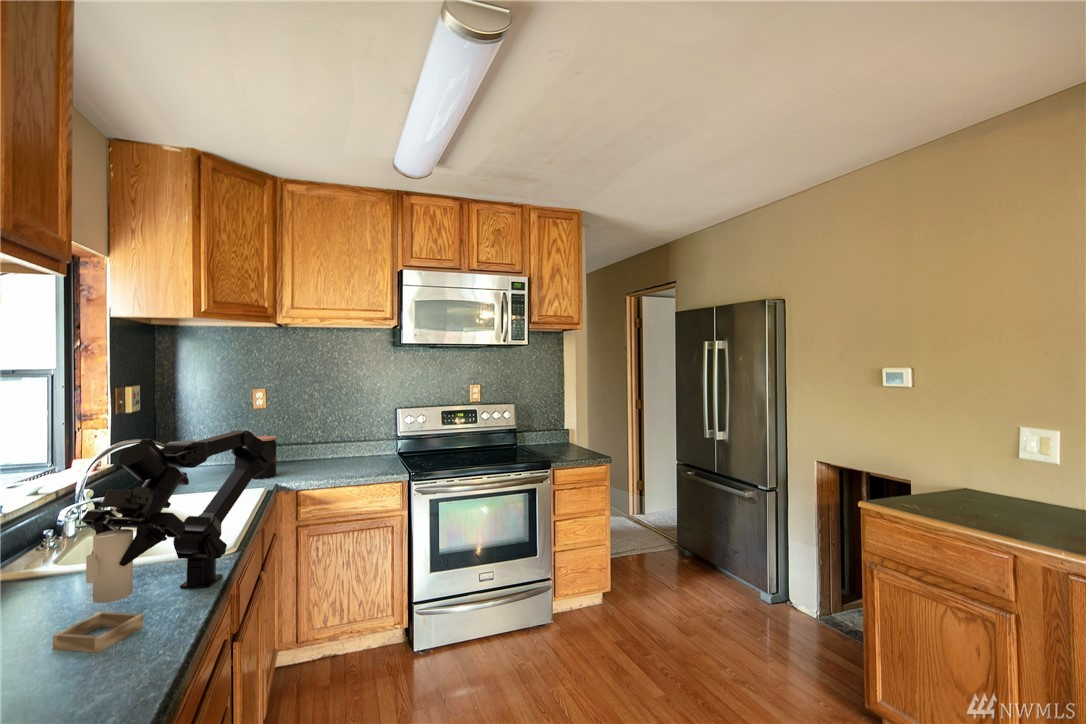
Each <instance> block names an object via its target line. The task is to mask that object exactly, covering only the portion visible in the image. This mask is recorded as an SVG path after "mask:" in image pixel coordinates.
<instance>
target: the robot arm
mask: <svg viewBox="0 0 1086 724" xmlns="http://www.w3.org/2000/svg"><path fill="white" fill-rule="evenodd" d="M257 437H258V436H255V434H254V433H253V432H251V431H250V430H242V429H241V430H238V429H237V430H235V429H233V430H231V431H229V432H227V433H222V434H218V435H214V436H211V437H208V438H207V437H206V438H204V439H201V440H200V439H199V440H181V441H180V440H178V441H169V442H167V443H166V444H164V446H163V447H162V448H159V447H158V446H157V444H156V443H155V441H154V440H153V439H150V438H143V439H141V440H140V441H139V442H138V443H135V444H132V445H131V446H129V447H128V448H127V449H125V450H123V451H122V452H121V453H120V455H119V457H118V463H119V464H120V465H121V466H122V467H123V468H124V469H125V470H126V471H128V472H129V473H130V474H131V475H132V476H134V477H135V479H137V480H139V481H144V483H143V484H142V486H136V487H134V489H132V490H130V489H128V490H127V489H109V488H108V489H107V490H106V492H105V495H104V497H103V499H102V500H103V501H102V503H101V505H100V506H101V507H110V508H115V512H116V513H118V514H121V516H117V515H116V514H115V513H113V512H112V511H110V509H97V508H96V509H90V510H87V511H86V512H85V514H84V515H83V516H82V518H81V520H80V521H81V522H82V523H83V524H85V525H86V526H88V527H89V528H91V529H92V530H93V531H95V535H97V534H99V533H103V532H106V531H111V530H118V529H122V528H129V529H131V528H134V529H136V532H135V537H133V541H132V543H131V544H130V546H129V548H128V549H127V551H126V552H125V554H124V556H123V557H122V559H121V561H120V565H121V566H126V565H127V564H128V563H130V562H131V561H133V562H134V560H135V559H137V558H139V557H140V556H141V555H143V554H144V553H145V552H147V551H148V550H149V549H151V548H153V547H155V546H156V545H158V544H159V543H161V542H165V541H167V539H168V538H173V544H172V545H173V547H174V550H175V553H176V556H177V559H178V560H179V559H180V560H181V559H182V560H183V559H184V560H185V559H186V560H187V561H186V562H187V563H186V581H184V582H183V583H182V584H181V583H180V585H179V588H180V589H185V588H186V589H188V588H189V589H194V588H196V589H197V588H209V587H211V586H212V585H213V584H215V583H216V582H218V581H219V580H220V579H221V578H222V577H223V574H221V573H219V574H218V573H217V559H220V558H222V556H223V555H225V554H226V551H227V549H228V544H227V543H226V542H225V541H223V540H222V539H221V536H222V523H223V522H224V520H225V519H226V517H227V516H228V515H229V513H230V512H231V510H232V508H233V507H234V505H236V502H238V499H239V498H240V497H241V496H242V494H243V492H244V491H245V489H246V488H247V487H248V485H249V483H250V482H251V481H252V480H253V479H252V478H253V477H254V476H256V475H258V474H259V473H261V472H263V471H264V470H265V469H266V468H267V467H268V466H269V465H270V464H271V463H272V461H273V459H274V451H273V450H272V448H271V447H270V446H269V445H268V444H267V443H266V442H264V441H262V440H261V439H259V438H257ZM228 451H231V454H232V455H233V456H234V457H235V458H234V468H233V470H232V471H231V473H230V475H229V476H228V477H227V479H225V481H224V483H223V484H222V485H221V486H220V488H219V489H218V491H217V492H216V493H215V495H214V496H213V498H212V499H211V500H210V502H209V503H208V504H207V506H205V509H204V510H203V511H202V513H200V514H198V515H197V516H196V515H188V516H187V517H185V519H184V521H183V520H181V519H180V518H179V517H178V515H176V514H175V513H173V512H163V511H162V510H163V509H169V508H170V506H171V505H172V503H171V502H169V500H170V498H171V497H172V496H173V494H174V493H175V491H176V489H177V488H178V486H188V485H189V484H190V480H189V478H188V473H187V472H182V471H181V470H180V469H179V468H181V469H182V468H183V469H185V468H186V469H187V468H188V469H191V468H192V469H193V468H196V467H198V466H200V465H202V464H203V463H205V462H207V460H208V458H210V457H212V456H216V455H218V454H222V453H224V452H228ZM91 554H93V549H92V551H91Z"/></svg>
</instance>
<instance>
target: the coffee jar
mask: <svg viewBox="0 0 1086 724" xmlns="http://www.w3.org/2000/svg"><path fill="white" fill-rule="evenodd" d="M256 437H257V438H259V439H261V440H262V441H264V442H266V443H267V444H268V445H269V446H270V447H271V448H272V450H273V451H274V459H273V461H272V463H271V464H270V465H269V466H268V467H267V468H266V469H265V470H264V471H263V472H261V473H259V474H258V475H256V476H254V477H253V479H252V480H265V479H264V478H267V479H271V478H270V477H272V478H275V476H276V474H277V441H276V440H277V436H275V435H263V436H262V435H259V436H256Z"/></svg>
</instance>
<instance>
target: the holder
mask: <svg viewBox="0 0 1086 724" xmlns="http://www.w3.org/2000/svg"><path fill="white" fill-rule="evenodd" d="M101 627H103V628H104V627H105V628H110V629H109V630H108V631H106V632H104V633H101V634H100V635H88V634H89V633H91V632H92V631H95V630H97V629H99V628H101ZM111 628H112V629H111ZM143 628H144V614H143V613H129V612H114V611H113V612H112V611H99V612H97V613H96V614H94V615H92V616H89V617H87V618H85V619H84V620H81V621H80V622H78V623H75V624H73V625H72V626H70V627H68V628H65V629H63V630H61V631H59V632H57V633H55V634H54V635H52V650H57V651H70V652H71V651H72V652H84V653H96V654H99V653H101V652H103V651H104V650H106V649H108V648H110V647H112V646H113V645H114V644H117V643H118V642H119V641H122V640H123V639H125V638H126V637H128V636H131V635H132V634H134V633H135V632H137V631H138V630H141V629H143Z"/></svg>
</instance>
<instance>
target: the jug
mask: <svg viewBox="0 0 1086 724" xmlns="http://www.w3.org/2000/svg"><path fill="white" fill-rule="evenodd" d="M133 540H134V530H133V529H131V528H129V529H128V528H123V529H122V528H121V529H118V530H111V531H106V532H103V533H99V534H97V535H96V534H94V536H93V537H92V550H93V554H92V553H90V554H88V555H86V559H85V560H86V562H85V563H86V565H85V568H86V570H85V574H86V575H85V577H86V578H85V582H86V583H85V584H92V602H93V603H96V604H104V603H106V604H107V603H111V602H116V601H120V600H122V599H125V598H127V597H130V596H131V595H132V594H133V593H134V560H133V561H131V562H130V563H128V564H127V565H126V566H121V565H120V561H121V559H122V557H123V556H124V554H125V552H126V551H127V549H128V548H129V546H130V544H131V543H132V541H133Z"/></svg>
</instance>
